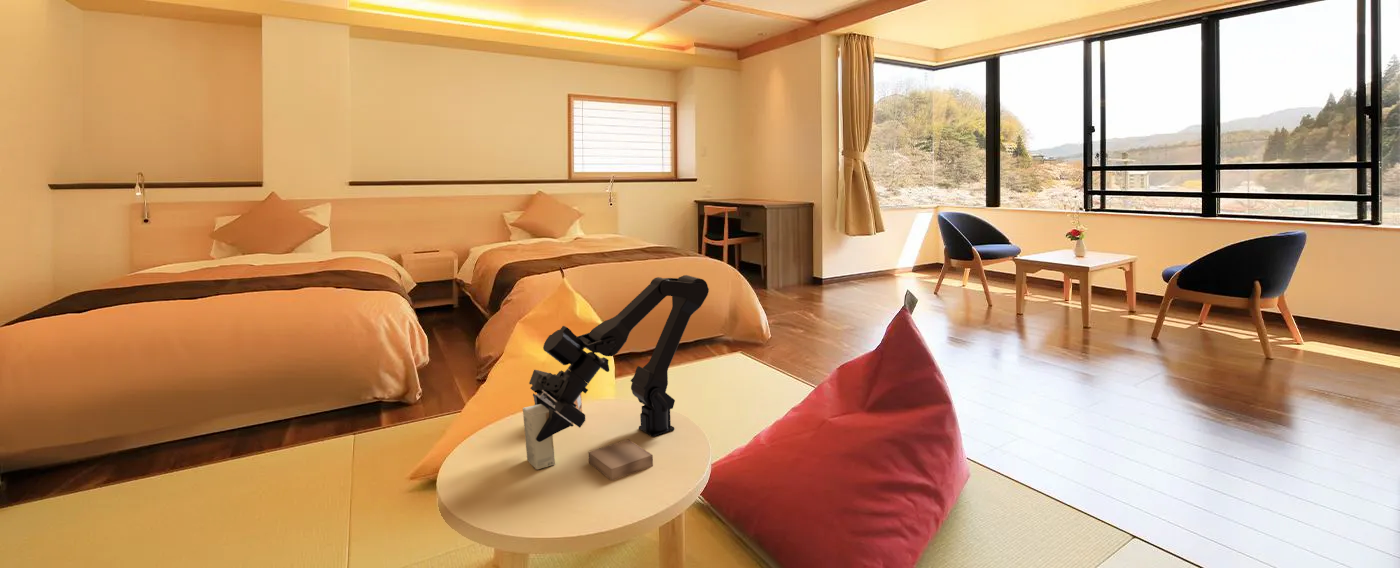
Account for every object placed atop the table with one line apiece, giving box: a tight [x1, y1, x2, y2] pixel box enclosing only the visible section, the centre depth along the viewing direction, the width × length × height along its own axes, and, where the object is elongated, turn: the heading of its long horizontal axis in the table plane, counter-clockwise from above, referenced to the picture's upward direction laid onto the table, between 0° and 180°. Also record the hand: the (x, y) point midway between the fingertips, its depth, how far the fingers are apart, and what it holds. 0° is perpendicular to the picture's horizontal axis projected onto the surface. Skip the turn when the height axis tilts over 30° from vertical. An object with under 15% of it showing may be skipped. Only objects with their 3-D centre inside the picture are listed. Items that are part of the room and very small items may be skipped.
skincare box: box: [522, 404, 556, 470], centre depth 137 cm, size 6×4×12 cm
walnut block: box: [587, 439, 654, 481], centre depth 137 cm, size 10×10×3 cm
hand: (532, 435), depth 136 cm, fingers closed on skincare box, 6 cm apart
